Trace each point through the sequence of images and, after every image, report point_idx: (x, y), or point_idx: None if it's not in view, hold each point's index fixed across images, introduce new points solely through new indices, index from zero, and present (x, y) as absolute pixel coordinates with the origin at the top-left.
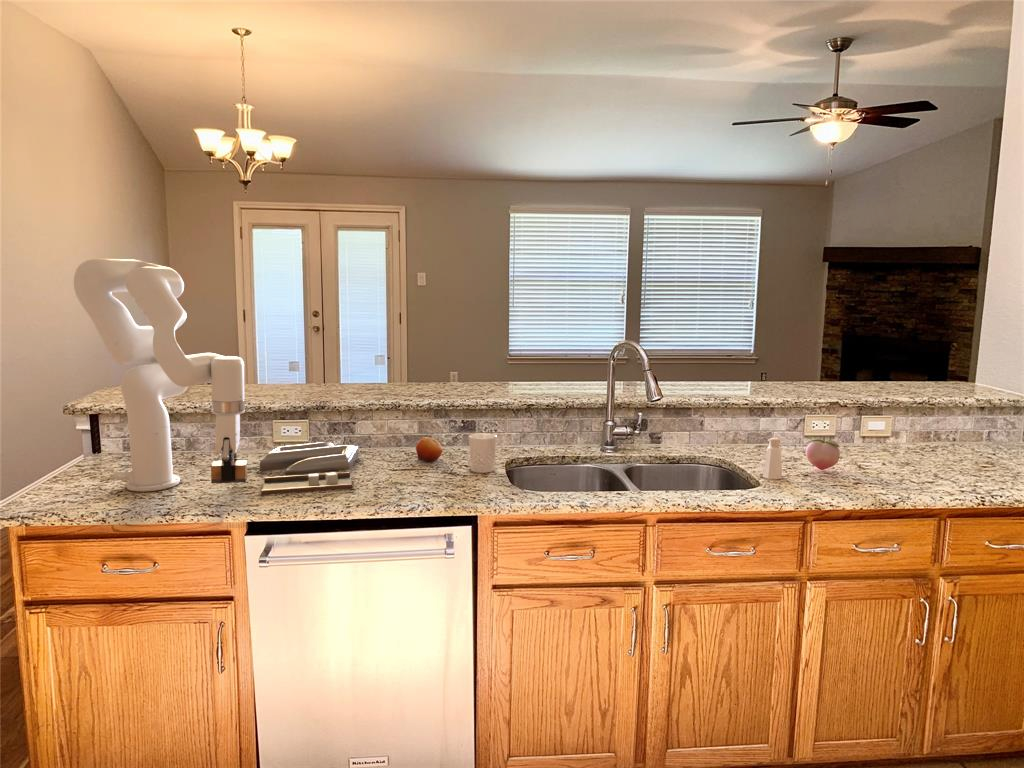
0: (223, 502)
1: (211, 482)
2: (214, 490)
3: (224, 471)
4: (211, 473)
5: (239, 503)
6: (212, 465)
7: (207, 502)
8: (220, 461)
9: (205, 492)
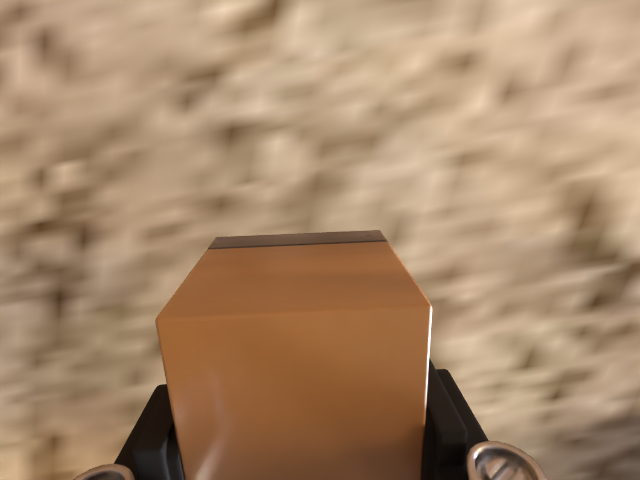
0: (119, 299)
1: (215, 241)
2: (402, 197)
3: (131, 434)
4: (189, 277)
5: (92, 388)
6: (180, 335)
7: (127, 200)
8: (392, 396)
9: (368, 144)
